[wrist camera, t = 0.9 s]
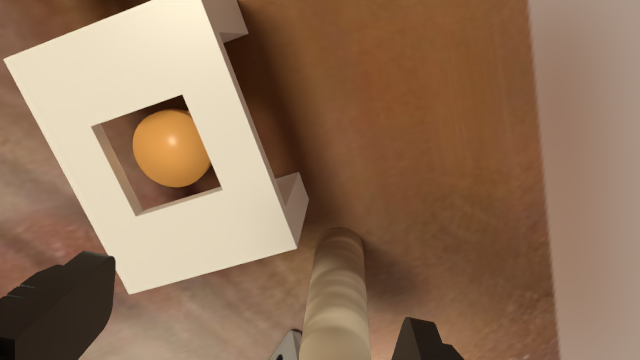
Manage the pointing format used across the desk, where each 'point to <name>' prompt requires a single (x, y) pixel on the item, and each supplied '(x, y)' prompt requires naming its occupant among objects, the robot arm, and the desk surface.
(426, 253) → the desk surface
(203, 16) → the guard housing
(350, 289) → the round beige peg
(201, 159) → the button
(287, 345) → the electrical switch
